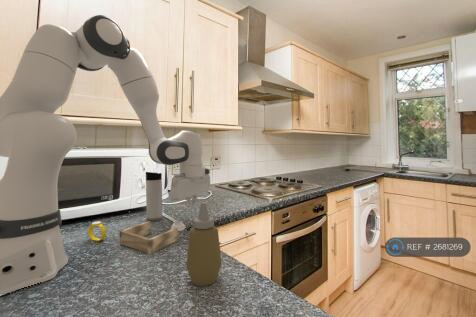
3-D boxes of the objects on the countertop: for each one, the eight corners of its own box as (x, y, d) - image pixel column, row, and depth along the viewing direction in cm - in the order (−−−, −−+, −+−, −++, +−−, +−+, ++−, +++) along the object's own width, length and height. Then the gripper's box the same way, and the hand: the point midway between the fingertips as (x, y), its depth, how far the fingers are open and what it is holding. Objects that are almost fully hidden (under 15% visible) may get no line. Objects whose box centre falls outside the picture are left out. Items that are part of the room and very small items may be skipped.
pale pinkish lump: (186, 227, 88) (173, 227, 88) (186, 219, 88) (172, 219, 88) (183, 232, 83) (169, 232, 83) (183, 224, 83) (169, 224, 83)
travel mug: (142, 220, 96) (141, 171, 95) (155, 215, 102) (154, 170, 100) (153, 222, 93) (152, 172, 92) (165, 217, 99) (164, 171, 98)
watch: (86, 241, 76) (85, 223, 75) (94, 238, 78) (92, 220, 78) (101, 242, 74) (99, 224, 74) (108, 239, 77) (106, 221, 76)
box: (150, 254, 66) (149, 240, 66) (120, 243, 73) (119, 231, 73) (177, 240, 76) (177, 228, 76) (148, 232, 83) (148, 221, 83)
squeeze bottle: (201, 295, 49) (201, 210, 47) (179, 279, 54) (178, 203, 53) (228, 278, 55) (228, 202, 53) (206, 266, 60) (205, 197, 59)
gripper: (178, 176, 81) (179, 214, 82) (212, 169, 99) (213, 201, 100) (165, 174, 84) (166, 212, 85) (200, 168, 102) (201, 199, 103)
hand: (192, 206), depth 93 cm, fingers closed
